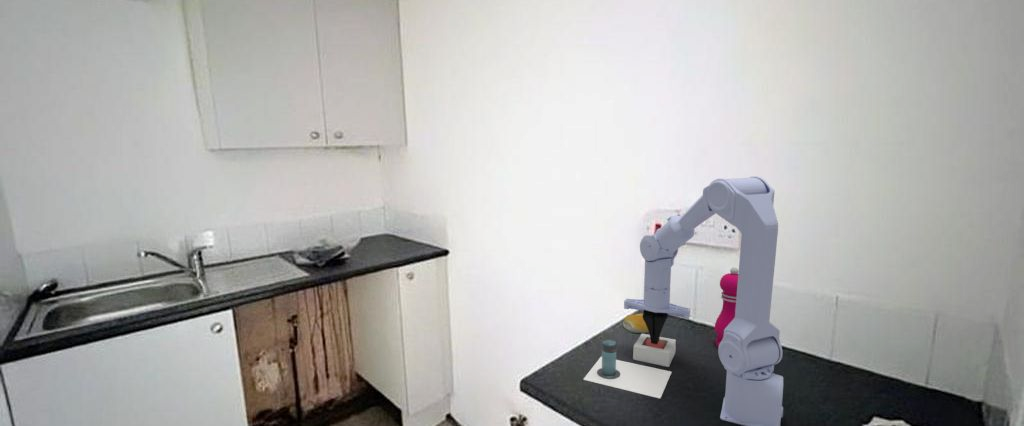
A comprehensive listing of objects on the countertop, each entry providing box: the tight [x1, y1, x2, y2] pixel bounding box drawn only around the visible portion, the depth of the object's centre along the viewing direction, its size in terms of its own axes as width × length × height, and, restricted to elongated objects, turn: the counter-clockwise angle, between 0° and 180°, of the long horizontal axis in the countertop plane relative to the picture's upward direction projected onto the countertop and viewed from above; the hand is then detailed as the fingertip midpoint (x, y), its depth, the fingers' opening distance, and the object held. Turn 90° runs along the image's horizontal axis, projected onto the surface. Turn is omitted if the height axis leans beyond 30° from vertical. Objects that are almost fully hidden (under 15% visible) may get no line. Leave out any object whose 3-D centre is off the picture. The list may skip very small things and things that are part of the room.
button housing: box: [632, 333, 677, 368], centre depth 111 cm, size 8×8×4 cm
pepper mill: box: [714, 267, 739, 348], centre depth 115 cm, size 7×7×20 cm
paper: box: [583, 355, 673, 399], centre depth 102 cm, size 16×12×1 cm
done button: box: [646, 339, 664, 349], centre depth 111 cm, size 4×4×2 cm
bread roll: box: [622, 313, 649, 334], centre depth 128 cm, size 8×9×4 cm
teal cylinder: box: [601, 339, 618, 376], centre depth 103 cm, size 3×3×7 cm
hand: (654, 342), depth 111 cm, fingers closed, pressing on done button
